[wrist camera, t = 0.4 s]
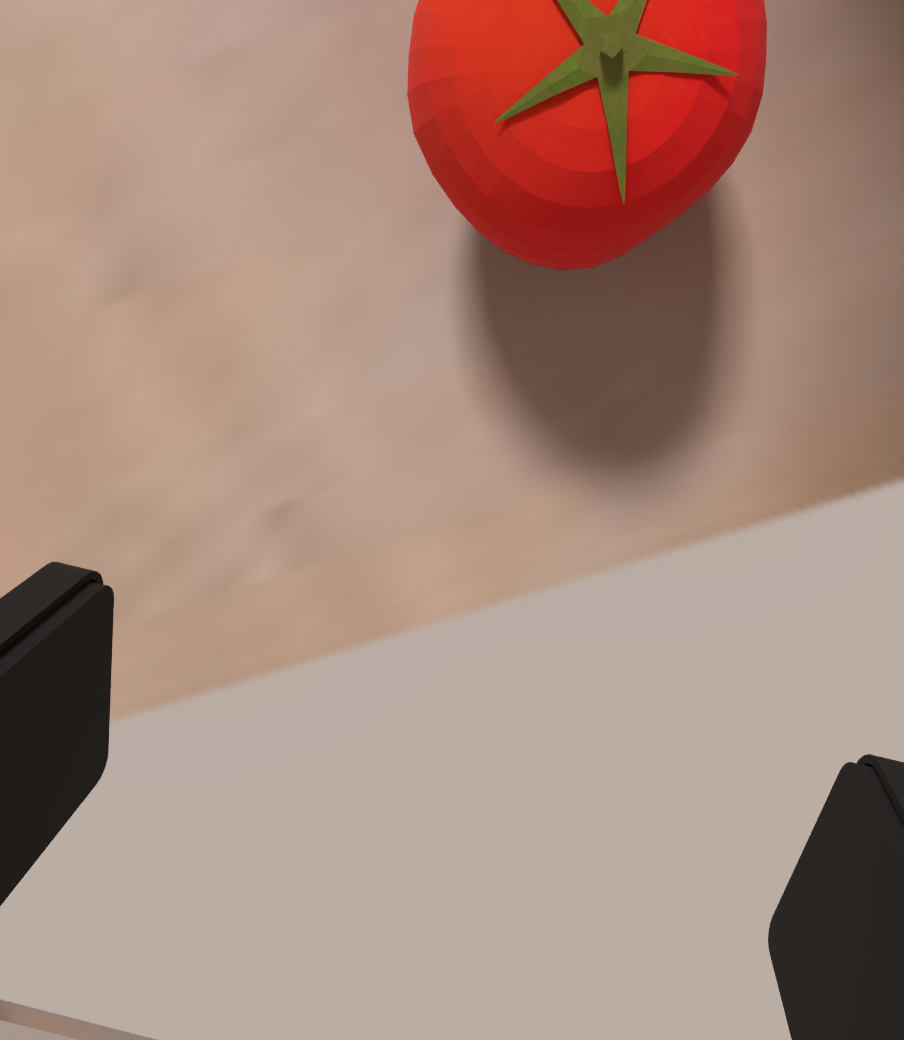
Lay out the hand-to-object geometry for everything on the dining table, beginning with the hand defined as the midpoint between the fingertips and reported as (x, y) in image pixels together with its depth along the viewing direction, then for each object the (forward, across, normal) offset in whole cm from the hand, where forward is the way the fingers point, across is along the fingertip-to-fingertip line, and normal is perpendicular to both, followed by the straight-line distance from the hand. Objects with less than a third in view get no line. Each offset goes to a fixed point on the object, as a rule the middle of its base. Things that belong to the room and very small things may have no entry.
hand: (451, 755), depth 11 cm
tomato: (+31, +1, -10) cm, 32 cm away
